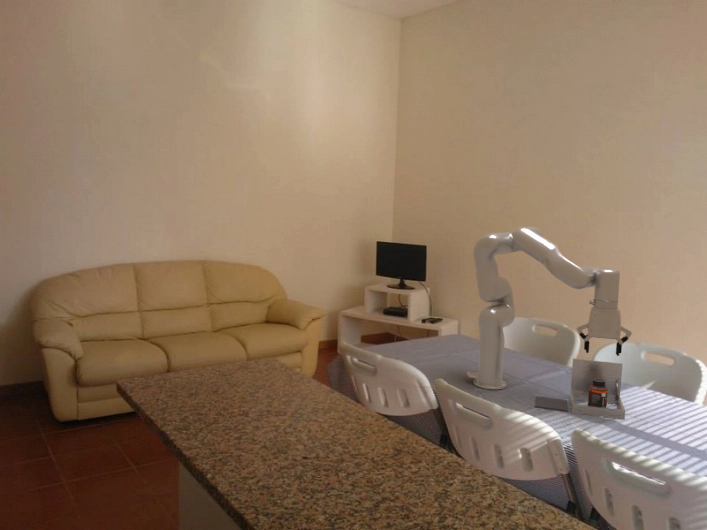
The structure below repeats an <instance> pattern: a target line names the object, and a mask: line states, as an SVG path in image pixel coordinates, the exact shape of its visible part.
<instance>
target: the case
mask: <svg viewBox="0 0 707 530" xmlns="http://www.w3.org/2000/svg"><path fill="white" fill-rule="evenodd" d="M571 369H572V370H571V382H570V398H569V399H570V400H569V401H570V407H571V413H573V414H580V415H586V416H587V415H588V416H595V417H600V416H603V417H602V418H608V417H613V418H612V419H615V418H618V419H617V420H624V421H625V419H626V410H625V406H624V403H623V401H622V398H621V386H622V378H623V377H622V375H623V363H618V362H609V361H602V360H601V361H599V360H590V359H583V358H582V359H581V358H572V368H571ZM593 379H603V380H605V386H606V387H607V388H608V394H607V403H608V404H607V405H613V404H615V405H614V406H617V409H616V408H609V407H606V408H603V407H595V406H588V404H578V403H576V402H575V401H582V402H588V398H589V387H590V385H591V384H593Z"/></svg>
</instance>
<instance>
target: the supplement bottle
mask: <svg viewBox="0 0 707 530" xmlns="http://www.w3.org/2000/svg"><path fill="white" fill-rule="evenodd" d="M607 394H608V388H607V387H606V386H605V380H603V379H593V384H591V385H590V387H589V398H588V401H587V406H595V407H603V408H608V407H607V405H608V404H607Z"/></svg>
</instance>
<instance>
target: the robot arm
mask: <svg viewBox="0 0 707 530" xmlns="http://www.w3.org/2000/svg"><path fill="white" fill-rule="evenodd" d="M517 252H523V253H525V254H527V256H529V257H531V258H532V259H534V260H536V261H537V262H538V263H540V264H542V265H543V266H544V267H545V269H546V270H548V272H549V273H550V274H551V275H552V276H554V277H555V278H557V279H558V280H560V281H561V282H562V283H564V284H566V285H567V286H568V287H570V288H572V289H575V290H583V289H586V288H591V287H593V288H594V295H593V296H594V297H593V299H591V300H589V301H588V302H589V303H588V304H589V305H592V307H591V308H590V312H589V317H588V323H584V324H582V325H580V326H576V331H577V332H578V333H577V334H579V336H580V338H581V339H583V341H584V345H583V350H584V351H585V353H586V354H588V353H589V352H590V339H592V338H596V339H607V340H616V346H615V347H616V348H615V354H616V356H617V357H618V356H619V357H620V354H622V349H623V345H624V343H625V342H627V341H628V340H629V338H630V337H631V336H632V334H633V333H632V331H631V330H628V329H627V328H625V327H623V326H622V323H621V322H622V317H621V315H622V314H621V310H620V308H618V307H619V305H618V304H619V295H620V294H619V292H620V291H619V289H620V279H621V278H620V277H621V276H620V275H621V274H620V271H619V270H618V269H615V268H608V267H607V268H604V267H603V268H601V267H596V266H590V265H583V266H582V265H581V266H579V265H577V264H575V263H573V262H572V261H570V260H569V259H567V257H565V256H564V255H563V254H562V252H561V250H560V246H558V244H556V243H555V242H553V241H551V240H550V239H548V238H546V237H545V236H544V234H543V232H542V230H541V229H540V228H538V227H536V226H532V225H531V226H530V225H529V226H519V227H518V228H516V229H515V230H510V231H505V232H491V233H490V232H489V233H487V234H484V235H483V236H482V237H480V238H479V239H478V240H477V242H476V243H475V245H474V248H473V262H474V268H475V277H476V284H477V290H478V296H479V298H480V300H482V301H483V302H484V303H490V306H486V307H485V308H483V309H482V310H481V311H480V313H479V315H478V321H477V322H478V328H479V330H478V331H479V343H478V344H479V346H478V365H477V367H478V368H477V371H475V372H472V371H466V377H468V378H469V379H474V380H473V385H475V386H476V387H478V388H480V389H484V390H494V391H495V390H502V389H503V390H504V389H505V388H506V387H507V382H506V381H505V380H503V379H504V378H503V376H504V375H503V374H504V359H505V358H504V357H505V355H504V354H505V334H504V328H506V327H508V326H510V325H512V323H514V320H515V318H516V310H515V303H514V302H515V301H514V296H513V289H512V286H511V285H512V284H511V283H510V282H509V280H508V279H506V278H505V277H504V276H500V274H499V268H498V264H497V261H496V258H495V256H498V255H507V254H511V253H517ZM586 329H587V334H586V335H585V333H584V332H583V330H586ZM621 332H623V333H625V335H624V336H623V337H621Z"/></svg>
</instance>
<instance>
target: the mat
mask: <svg viewBox="0 0 707 530" xmlns="http://www.w3.org/2000/svg"><path fill="white" fill-rule="evenodd" d="M534 401H535V402H534V408H536V409H544V410H550V411H552V410H553V411H558V412H565V413H569V404H568V399H560V398H555V397H545V396H537V395H535V400H534Z"/></svg>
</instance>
